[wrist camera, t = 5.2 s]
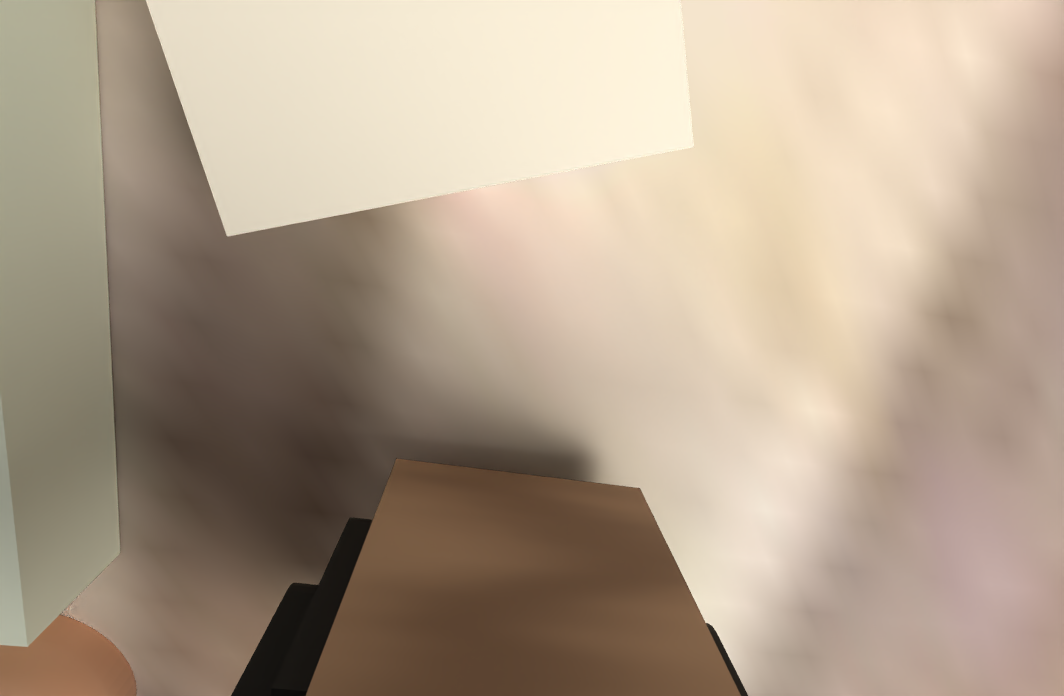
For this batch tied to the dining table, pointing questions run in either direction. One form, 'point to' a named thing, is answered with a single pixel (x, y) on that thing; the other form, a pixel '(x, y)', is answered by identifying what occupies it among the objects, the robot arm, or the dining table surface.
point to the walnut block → (516, 595)
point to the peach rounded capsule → (66, 664)
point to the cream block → (416, 96)
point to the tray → (52, 318)
